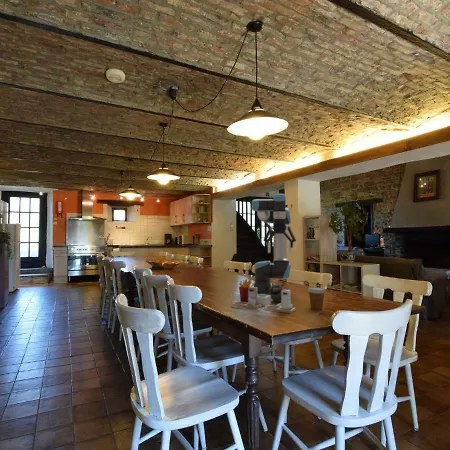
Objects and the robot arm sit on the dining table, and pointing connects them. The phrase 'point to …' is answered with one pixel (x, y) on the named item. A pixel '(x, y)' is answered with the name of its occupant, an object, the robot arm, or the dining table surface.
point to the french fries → (244, 290)
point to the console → (264, 300)
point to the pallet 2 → (278, 309)
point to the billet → (286, 299)
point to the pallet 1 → (249, 300)
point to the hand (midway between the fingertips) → (279, 253)
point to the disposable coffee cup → (316, 297)
